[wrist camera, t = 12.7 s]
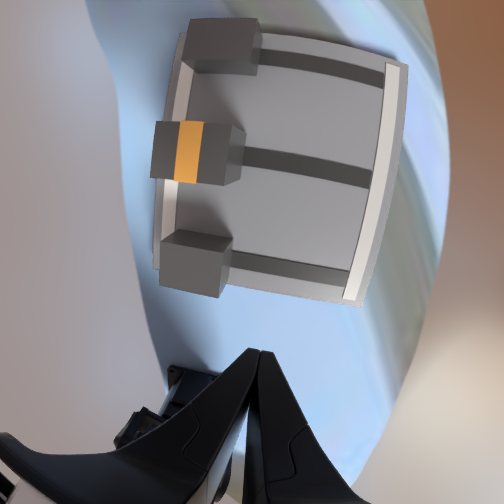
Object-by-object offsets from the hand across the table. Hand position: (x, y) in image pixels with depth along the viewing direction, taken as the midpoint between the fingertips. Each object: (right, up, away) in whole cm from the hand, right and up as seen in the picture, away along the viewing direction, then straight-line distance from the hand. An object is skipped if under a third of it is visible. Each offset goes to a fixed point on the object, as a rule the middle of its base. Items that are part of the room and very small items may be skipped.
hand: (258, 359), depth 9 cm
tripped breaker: (-3, +10, +9) cm, 13 cm away
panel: (+1, +10, +9) cm, 13 cm away
